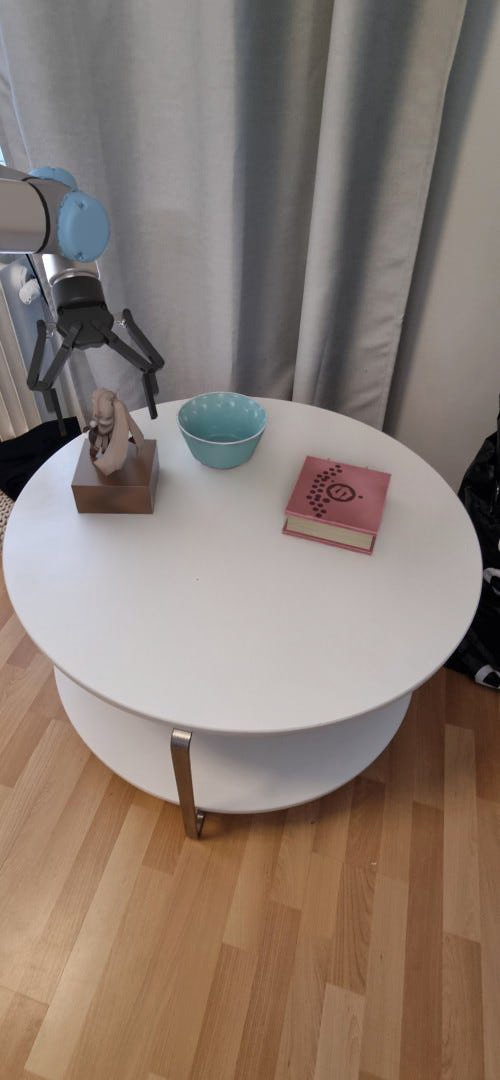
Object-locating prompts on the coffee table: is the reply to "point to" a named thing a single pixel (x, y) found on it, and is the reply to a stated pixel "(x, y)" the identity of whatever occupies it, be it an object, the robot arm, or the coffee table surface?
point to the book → (337, 505)
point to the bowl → (222, 427)
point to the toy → (111, 431)
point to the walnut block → (117, 482)
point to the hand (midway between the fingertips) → (110, 426)
